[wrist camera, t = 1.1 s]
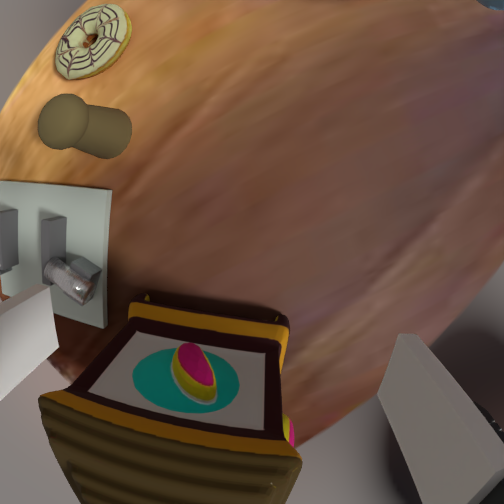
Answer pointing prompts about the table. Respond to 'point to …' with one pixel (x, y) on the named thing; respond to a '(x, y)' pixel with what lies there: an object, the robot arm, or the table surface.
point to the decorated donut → (102, 51)
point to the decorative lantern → (178, 413)
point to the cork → (84, 127)
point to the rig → (54, 240)
